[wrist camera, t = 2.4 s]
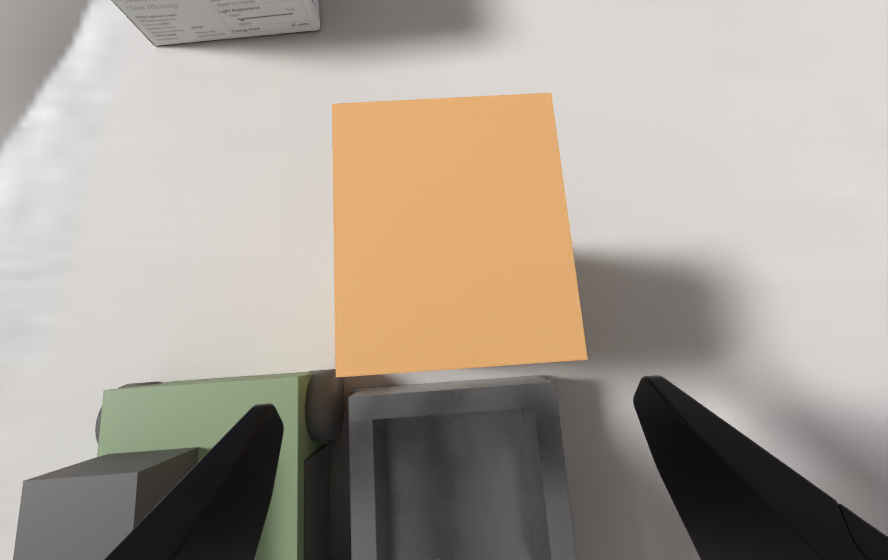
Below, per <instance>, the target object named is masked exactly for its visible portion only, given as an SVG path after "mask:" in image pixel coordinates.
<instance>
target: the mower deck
mask: <svg viewBox="0 0 888 560" xmlns="http://www.w3.org/2000/svg"><path fill="white" fill-rule="evenodd" d="M266 403H272V404H273V405H274V406H275V407H276V409H277V411H278V413H279V416H280V418H281V420H282V422H283V425H284V433H283V439H282V444H281V450H280V455H279V461H278V467H277V472H276V478H275V483H274V489H273V494H272V498H271V502H270V506H269V510H268V513H267V517H266V520H265V524H264V527H263V531H262V534H261V538H260V541H259V544H258V548H257V551H256V555H255V558H254V560H329V464H328V441H327V440H335V439H337V438H338V436H339V434H340V431H341V428H342V423H343V417H344V386H343V380H342V377H336V369H332V370H318V371H309V372H300V373H286V374H271V375H257V376H243V377H229V378H215V379H200V380H186V381H173V382H165V383H163V382H147V383H133V384H126V385H124V386H121V387H119V388H118V389H110V390H104V393H103V403H102V407H101V409H100V411H99V414H98V417H97V421H96V430H95V432H96V439H97V442H98V453H97V457H96V458H93V459H90V460H87V461H84V462H81V463H78V464H75V465H72V466H69V467H65V468H62V469H59V470H56V471H53V472H50V473H47V474H44V475H41V476H38V477H34V478H31V479H28V480H25V481H23V488H22V496H21V504H20V511H19V519H18V526H17V534H16V541H15V549H14V556H13V560H104V559H105V558H106V557H107V556H108V555H109V554H110V553H111V552H112V551H113V550H114V549H115V548H116V547H117V546H118V545H119V543H120V542H121V541H122V540H123V539H124V538H125V537H126V536H127V535H128V534H129V533H130V532H131V531H132V530H133V529H134V528H135V527H136V526H137V525H138V524H139V523H140V522H141V521H142V520H143V519H144V518H145V517H146V516H147V515H148V514H149V513H150V512H151V511H152V509H153V508H154V507H155V506H156V505H157V504H158V503H159V502H160V501H161V500H162V499H163V498H164V497H165V496H166V495H167V494H168V493H169V492H170V491H171V490H172V489H173V488H174V487H175V486H176V485H177V484H178V483H179V482H180V481H181V480H182V479H183V478H184V476H185V475H186V474H187V473H188V472H189V471H190V470H191V469H192V468H193V467H194V466H195V465H196V464H197V463H198V462H199V461H200V460H201V459H202V458H203V457H204V456H205V455H206V454H207V453H208V452H209V451H210V450H211V449H212V448H213V447H214V446H215V445H216V444H217V442H218V441H219V440H220V439H221V438H222V437H223V436H224V435H225V434H226V433H227V432H228V431H229V430H230V429H231V428H232V427H233V426H234V425H235V424H236V423H237V422H238V421H239V420H240V419H241V418H242V417H243V416H244V415H245V414H246V413H247V412H248V411H249V410H250V408H252V407H253V406H254V405H257V404H266Z"/></svg>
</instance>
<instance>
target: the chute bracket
mask: <svg viewBox="0 0 888 560" xmlns="http://www.w3.org/2000/svg"><path fill="white" fill-rule="evenodd" d="M348 403H349V455H350V507H351V559H352V560H576V554H575V545H574V537H573V529H572V520H571V512H570V504H569V495H568V487H567V478H566V470H565V462H564V453H563V445H562V437H561V428H560V420H559V412H558V403H557V395H556V387H555V382H553V381H550V380H547V378H546V376H545V375H538V376H525V377H511V378H497V379H483V380H469V381H455V382H441V383H427V384H413V385H399V386H385V387H371V388H357V389H353V395H351V396H349V397H348Z"/></svg>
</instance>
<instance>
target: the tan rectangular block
mask: <svg viewBox="0 0 888 560" xmlns="http://www.w3.org/2000/svg"><path fill="white" fill-rule="evenodd" d="M332 130H333V206H334V283H335V359H336V377H349V376H363V375H377V374H392V373H406V372H420V371H434V370H448V369H462V368H476V367H490V366H504V365H519V364H533V363H547V362H561V361H575V360H588V357H587V350H586V343H585V336H584V328H583V321H582V314H581V306H580V299H579V292H578V285H577V277H576V270H575V263H574V255H573V248H572V241H571V234H570V226H569V219H568V212H567V204H566V197H565V190H564V183H563V175H562V168H561V161H560V153H559V146H558V139H557V132H556V124H555V117H554V110H553V102H552V95H551V93H538V94H518V95H498V96H478V97H458V98H439V99H419V100H399V101H379V102H360V103H340V104H332Z"/></svg>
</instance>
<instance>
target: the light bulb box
mask: <svg viewBox="0 0 888 560" xmlns="http://www.w3.org/2000/svg"><path fill="white" fill-rule="evenodd" d="M111 1H112V2H113V3H114V4H115V5H116V6H117V7H118V8H119V9H120V10H121V11H122V12H123V13H124V14H125V15H126V16H127V18H128V19H129V20H130V21H131V22H132V23H133V24H134V25H135V26H136V27H137V28H138V29H139V30H140V31H141V32H142V33H143V35H144V36H145V37H146V38H147V39H148V40H149V41H150V42H151V43H152V44H153V45H154V46H159V45H168V44H179V43H189V42H200V41H209V40H220V39H231V38H241V37H252V36H262V35H273V34H283V33H293V32H303V31H315V30H319V29H320V15H319V0H111Z"/></svg>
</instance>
